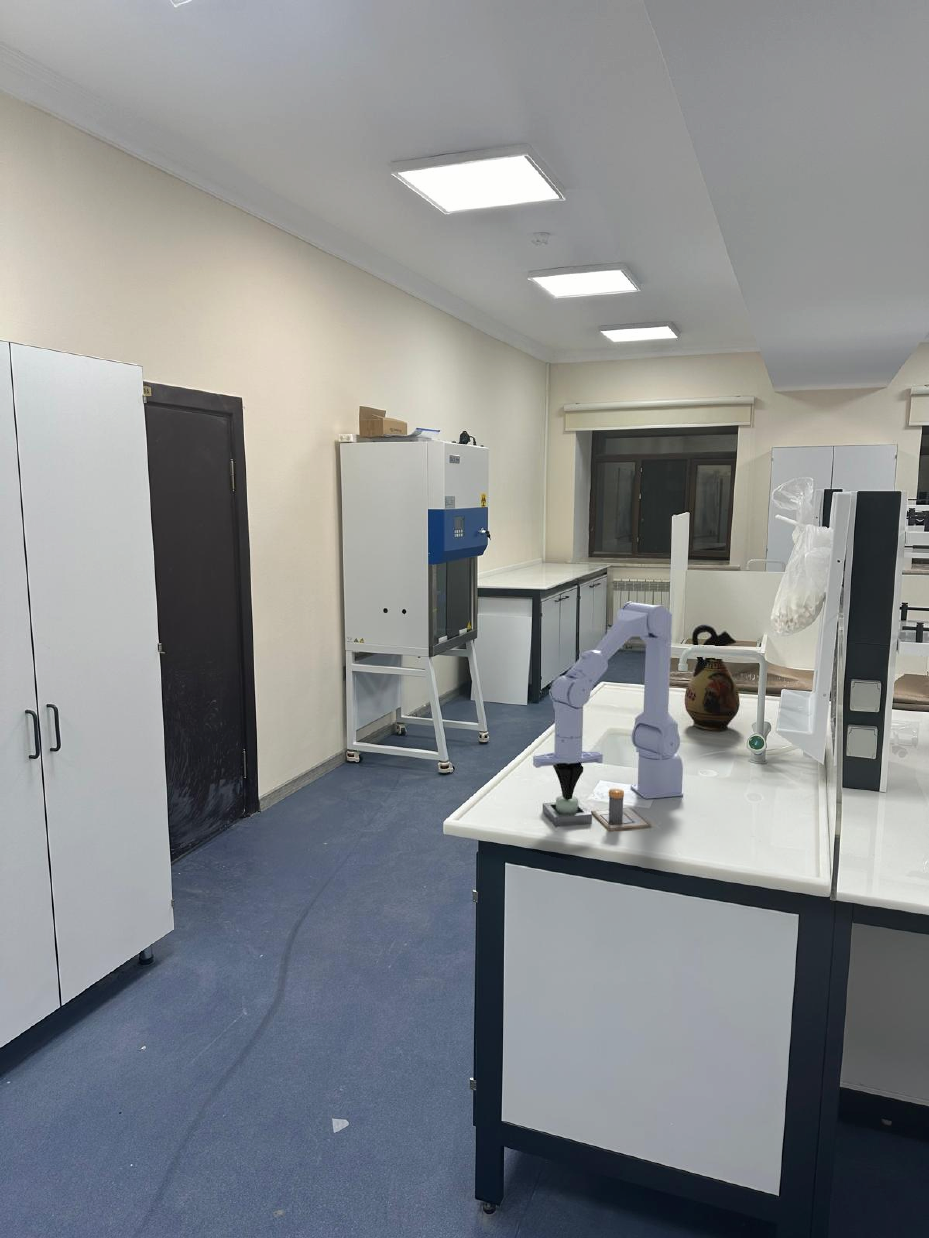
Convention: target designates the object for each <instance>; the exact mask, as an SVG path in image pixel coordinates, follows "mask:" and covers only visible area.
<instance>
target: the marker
mask: <svg viewBox="0 0 929 1238" xmlns="http://www.w3.org/2000/svg"><path fill="white" fill-rule="evenodd" d="M624 796H625V791H624V790H622V789H620V788H610V789H609V790H608V797H609V798H608V799H609V800H608V809H609V823H611V824H616V825H618V824H622V823H623V808H624Z"/></svg>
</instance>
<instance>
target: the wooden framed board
mask: <svg viewBox="0 0 929 1238" xmlns="http://www.w3.org/2000/svg"><path fill="white" fill-rule="evenodd" d="M590 813H591V814H592V816H594V817H595V818H596V819H597V821H599V823H601V824H602V825H603V826H604V827H605V828H606V829H607V830H608V831H609V832H617V831H626V830H636V829H637V830H638V829H648V828H652V824H650V823H649V822H648V821H647V820H645V819H644V818H643V817H642V816H641V815H640V814H639V813H637V812H636V811H635V810H634V809H633V808H632V807H623V823H622V824H618V825H616V824H611V823H609V808H607V809H600V810H599V809H597V810H591V811H590Z"/></svg>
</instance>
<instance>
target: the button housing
mask: <svg viewBox="0 0 929 1238" xmlns="http://www.w3.org/2000/svg"><path fill="white" fill-rule="evenodd" d="M542 813H543V815H544V816H545V817H546V818H547V820H548V821H549V822H550V823H551V824H552V825H553V826H554V827H555V828H557V827H567V826H568V827H570V826H578V825H590V824H593V814H592V813H591V811H590V810H588V809H587V807H586V806H584V804H582V803H581V801H579V800H578V813H573V814H562V815H561V814H558V813H557V812H556V801H555V802H542Z"/></svg>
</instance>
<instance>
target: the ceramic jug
mask: <svg viewBox="0 0 929 1238" xmlns="http://www.w3.org/2000/svg"><path fill="white" fill-rule="evenodd" d="M703 633H708V634H710V637H708V638H707V639H706V640H705V641H704V642H703V644H702V646H703V645H715V646H726V647H728V646H732V645H735V644H736V643H737V641H736V640H735V639H733V637H732V636H731V635H730V634H729V633H728V632H727V631H726V630H724V631H723V632H721V633H720V634H717V632H716V629H715V628H714V627H712V626H711V625H708V624H700V625H698V626H697V627H695V629H694V630H693V632H692V636H691V642H692V646H693V645H699V646H700V644H699V638H698V637H699V635H700V634H703ZM696 658H697V659H696V660H697V662H696V665H695V667H694V668H695V669H694V672H693V675H692V676H691V678H690V680H689V682H688V684H687V685H686V686H687V687H686V688H685V694H684V708H685V711H686V713H687V714H688V715H689V716H690V718H691V719H692V721H693V724H692V725H693V726H695V727H696V728H699V729H703V730H706V731H716V732H722V731H726V730H728V729H729V727H728V726H729V724H730V723H731V722H732V721H733V719H735V717H736V716H737V714H738V712H739V709H740V707H741V706H740V694H739V688H738V686H737V683H736V681H735V679H734V677H733V675H732V673H731V672H730V670H729V668H728V667H727V664H726V663H725V662H724V660H723V659H715V658H706V657H705V658H704V657H703V656H702V657H696Z"/></svg>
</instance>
